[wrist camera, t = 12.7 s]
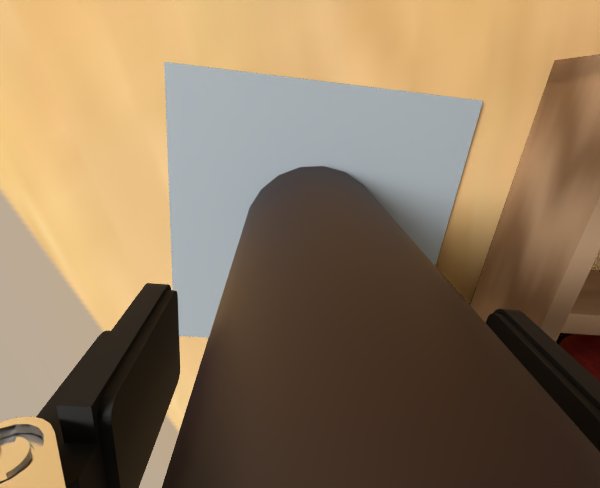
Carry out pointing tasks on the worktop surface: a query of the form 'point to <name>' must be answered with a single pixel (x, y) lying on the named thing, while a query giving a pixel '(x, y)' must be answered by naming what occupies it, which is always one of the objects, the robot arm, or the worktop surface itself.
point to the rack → (552, 212)
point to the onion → (584, 351)
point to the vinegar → (360, 365)
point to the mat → (297, 161)
